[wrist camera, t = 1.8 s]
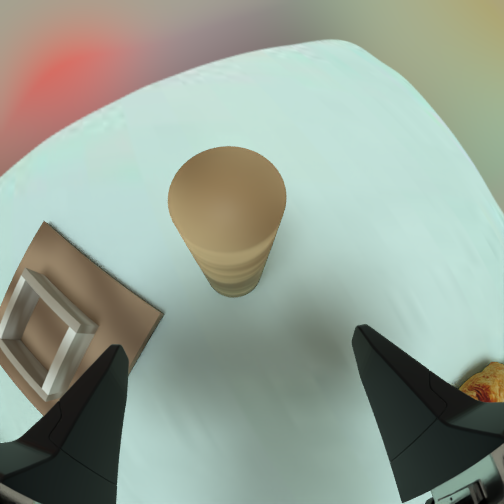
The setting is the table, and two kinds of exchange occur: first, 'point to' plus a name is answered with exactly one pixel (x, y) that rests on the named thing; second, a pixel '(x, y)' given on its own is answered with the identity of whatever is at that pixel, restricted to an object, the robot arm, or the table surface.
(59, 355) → the cup bracket
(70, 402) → the robot arm
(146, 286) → the table surface
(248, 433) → the table surface
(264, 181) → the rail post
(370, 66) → the table surface
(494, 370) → the croissant
